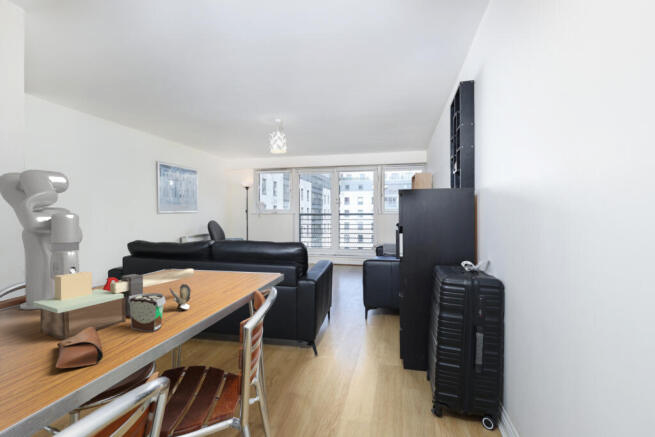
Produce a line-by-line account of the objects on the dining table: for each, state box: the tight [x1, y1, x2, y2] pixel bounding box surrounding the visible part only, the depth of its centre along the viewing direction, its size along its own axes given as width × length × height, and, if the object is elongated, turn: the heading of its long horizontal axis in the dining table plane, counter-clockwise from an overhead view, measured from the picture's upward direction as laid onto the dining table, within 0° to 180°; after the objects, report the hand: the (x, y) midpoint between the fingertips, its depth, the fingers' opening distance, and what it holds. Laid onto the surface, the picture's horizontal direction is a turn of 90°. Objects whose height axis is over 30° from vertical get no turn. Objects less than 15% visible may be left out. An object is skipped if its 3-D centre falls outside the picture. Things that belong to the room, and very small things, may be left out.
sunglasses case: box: [55, 327, 104, 369], centre depth 73 cm, size 18×7×7 cm
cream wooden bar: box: [110, 268, 195, 293], centre depth 109 cm, size 3×30×3 cm, turn 154°
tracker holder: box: [102, 276, 121, 293], centre depth 118 cm, size 12×4×10 cm, turn 168°
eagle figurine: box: [169, 283, 192, 312], centre depth 107 cm, size 8×7×9 cm
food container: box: [128, 292, 166, 333], centre depth 91 cm, size 12×6×10 cm, turn 71°
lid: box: [33, 271, 124, 313], centre depth 91 cm, size 15×17×8 cm
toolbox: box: [40, 273, 144, 341], centre depth 94 cm, size 14×22×14 cm, turn 154°
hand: (65, 297), depth 104 cm, fingers open, 4 cm apart
